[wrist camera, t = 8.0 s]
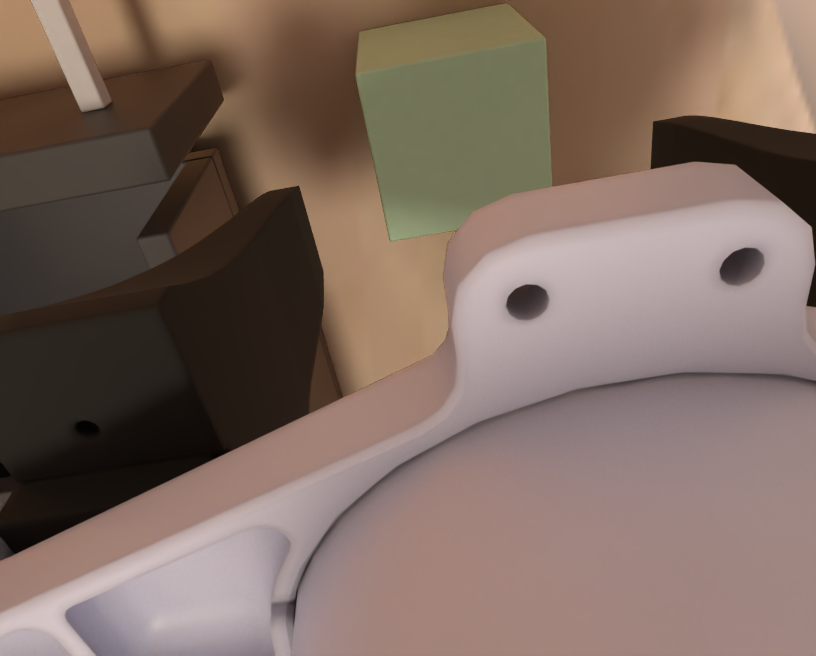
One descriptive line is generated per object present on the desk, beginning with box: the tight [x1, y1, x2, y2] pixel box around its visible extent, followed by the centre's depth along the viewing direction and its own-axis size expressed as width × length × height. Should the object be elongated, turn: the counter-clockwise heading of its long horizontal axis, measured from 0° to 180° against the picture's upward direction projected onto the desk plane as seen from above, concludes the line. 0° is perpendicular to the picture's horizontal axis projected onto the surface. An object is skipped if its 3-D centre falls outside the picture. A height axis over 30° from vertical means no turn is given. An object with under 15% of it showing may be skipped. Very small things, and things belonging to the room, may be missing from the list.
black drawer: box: [0, 0, 239, 478], centre depth 18 cm, size 17×11×6 cm, turn 10°
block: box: [355, 3, 552, 241], centre depth 18 cm, size 4×4×5 cm
